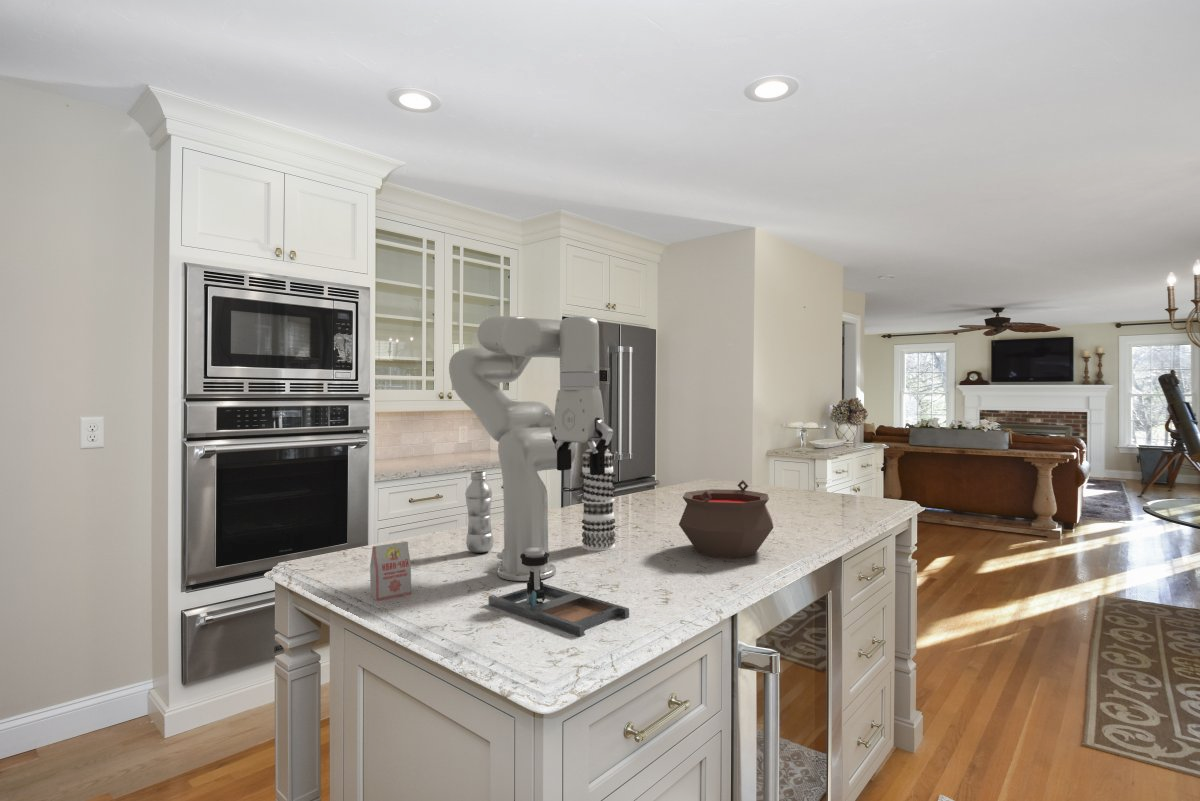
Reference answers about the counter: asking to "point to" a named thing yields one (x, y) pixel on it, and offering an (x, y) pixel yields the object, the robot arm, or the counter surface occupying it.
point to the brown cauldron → (726, 521)
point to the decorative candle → (598, 505)
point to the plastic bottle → (479, 514)
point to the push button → (535, 573)
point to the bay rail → (562, 609)
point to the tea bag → (390, 571)
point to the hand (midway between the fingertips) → (580, 472)
